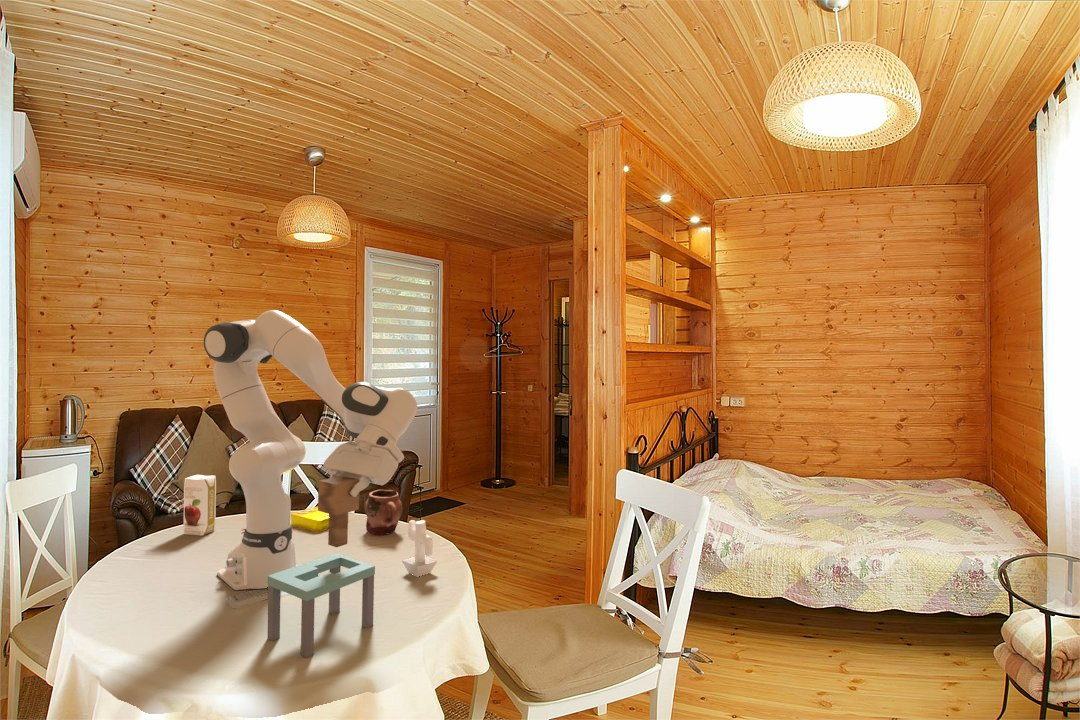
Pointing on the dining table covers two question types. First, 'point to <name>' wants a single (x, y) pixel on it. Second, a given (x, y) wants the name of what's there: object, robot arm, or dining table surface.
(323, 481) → the walnut peg
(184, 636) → the dining table surface
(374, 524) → the decorative planter
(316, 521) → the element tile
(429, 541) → the figurine
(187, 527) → the juice carton
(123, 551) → the dining table surface
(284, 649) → the dining table surface
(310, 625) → the keyhole shelf
